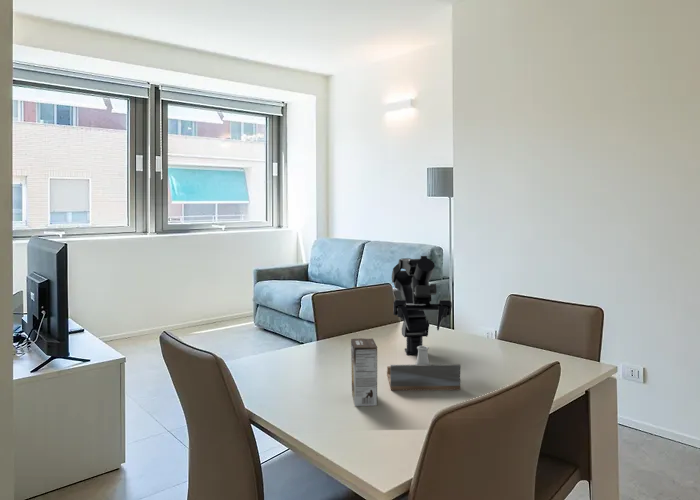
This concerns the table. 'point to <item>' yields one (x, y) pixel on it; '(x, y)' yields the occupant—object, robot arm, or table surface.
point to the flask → (422, 355)
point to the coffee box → (364, 372)
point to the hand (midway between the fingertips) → (423, 329)
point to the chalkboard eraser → (424, 377)
